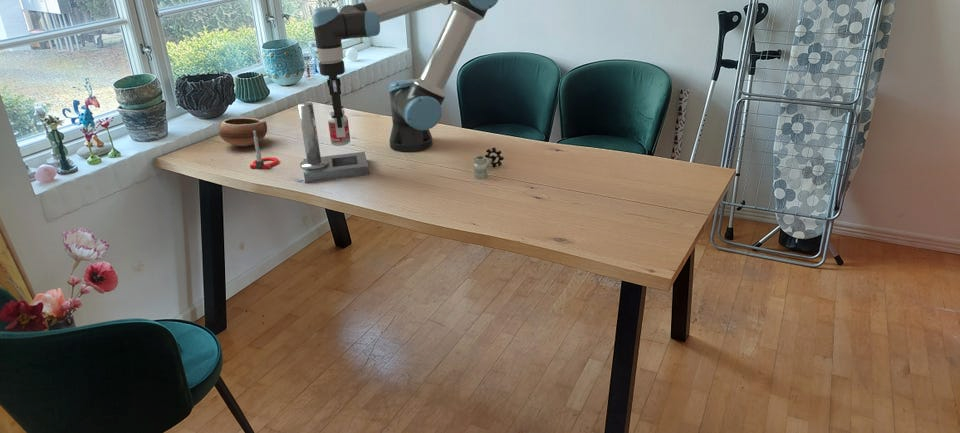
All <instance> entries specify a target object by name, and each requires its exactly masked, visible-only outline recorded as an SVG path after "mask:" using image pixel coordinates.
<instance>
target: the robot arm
mask: <svg viewBox="0 0 960 433" xmlns="http://www.w3.org/2000/svg"><path fill="white" fill-rule="evenodd" d="M498 2H499V0H366V1H362V2H359V3H355V4H347V5H346V4H345V5H342V6H341V7H340V8H339V10H338V8H337V7H334V6H322V7H317V8H315V9H313V11H312V25H313V26H312V27H313V32H314V40H315V45H316V50H315V51H314V52H315V53H314V54H315V55H317V58H318V59H317V60H318V61H319V63H318V66H319V67H318V68H319V74H320V75H321V76H323V77H328V78H327V79H326V82H327V87H328V90H329V95H330V96H331V103H332V104H331V106H332V108H333V109H334V116H332V118H334V120H335V128H336V135H337V138H339V137H346V136H345V128H344V120H343V114H342V108H343V109H344V105H343V106H342V102H341V101H342V100H341V94H342V91H341V90H342V89H341V85H342V84H341V82H342V81H341V78H339V77H338V76H339V75H340V76H341V75H343V74H344V73H345V72H346V70H345V69H346V68H345V62H344V61H345V60H343V59H344V58H345V57H344V51H343V44H342V40H348V39H349V40H350V39H359V38H361V39H362V38H371V37H375V36H378V35H380V32H381V23H383V22H386V21H389V20H393V19H395V18H399V17H401V16H404V15H408V14H412V13H414V12H418V11H421V10H425V9H428V8H430V7H434V6H437V5H440V4H441V5H444V6H448V5H451V11H450V13H449V15H448V18H447V20H446V22H445V24H444V26H443V28H442V30H441V32H440V34H439V36H438V38H437V40H436V43H435V45H434V47H433V49H432V51H431V54H430V56H429V57H428V59H427V62H426V64H425V66H424V68H423V70H422V72H421V75H420V77H419V78H409V79H400V80H395V81H392V82H390V84H389V86H388V92H389V99H390V109H391V120H392V127H391V132H390V136H389V147H390V149H391V150H394V151H397V152H403V153H404V152H407V153H409V152H419V151H422V150H426V149H428V148H430V147H432V146H433V144H434V143H433V135H432V133H431V131H430V129H433V128H434V127H435V126H437V125H438V123H439V122H440V121H441V118H442V114H443V109H442V104H443V102H444V100H445V98H446V94H445V91H444V90H445V87H446V85H447V83H448V81H449V79H450V77H451V75H452V73H453V70H454V68H455V67H456V65H457V62H458V61H459V59H460V56H461V54H462V52H463V50H464V48H465V46H466V45H467V42H468V40H469V38H470V36H471V35H472V32H473V30H474V28H475V26H476V24H477V22H479V21H482V20H483V19H484V18H485V16H486V14H487V12H488V10H490V9H492V8H493V7H494V6H496V5H497V3H498Z"/></svg>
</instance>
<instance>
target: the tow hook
mask: <svg viewBox="0 0 960 433" xmlns="http://www.w3.org/2000/svg"><path fill="white" fill-rule="evenodd" d="M253 132H254V143H255V144H254V148H255V156H256V160H253V162H252V163H250V164H249V168H250V169H271V167H273V166H275V165H278V164H279V163H280V161H279V158H277V157H271V156H270V157H262V154H261V152H260V146H259V142H258V138H257V135H256V131H253ZM264 162H266V163H264ZM267 162H268V163H267Z"/></svg>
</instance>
